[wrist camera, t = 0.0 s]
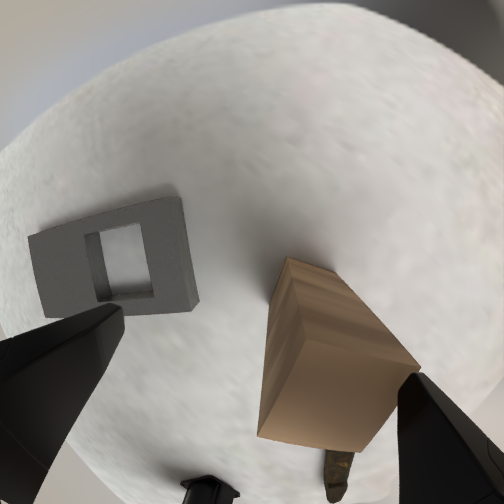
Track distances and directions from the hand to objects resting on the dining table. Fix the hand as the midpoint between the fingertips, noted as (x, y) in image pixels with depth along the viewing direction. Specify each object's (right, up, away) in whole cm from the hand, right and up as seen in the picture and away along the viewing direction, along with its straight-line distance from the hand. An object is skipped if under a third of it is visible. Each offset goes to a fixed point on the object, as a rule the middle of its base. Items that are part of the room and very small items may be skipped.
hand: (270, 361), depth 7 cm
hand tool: (+10, -20, +18) cm, 29 cm away
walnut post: (+4, 0, +15) cm, 16 cm away
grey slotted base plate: (-15, +2, +17) cm, 22 cm away
